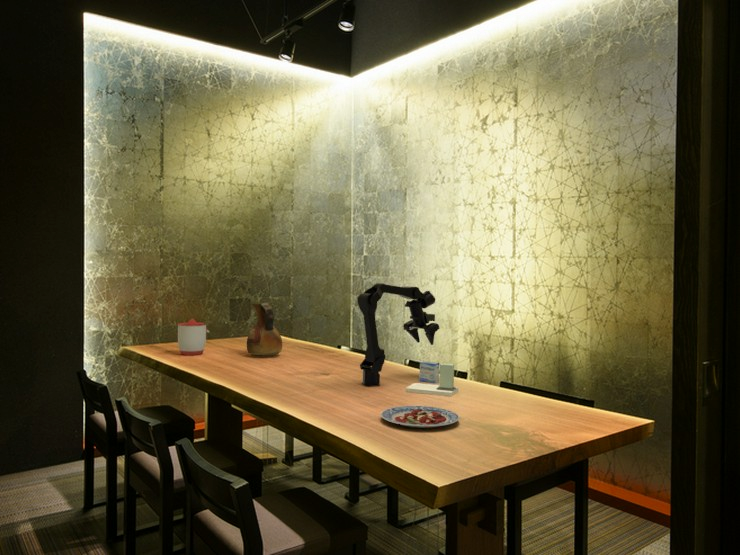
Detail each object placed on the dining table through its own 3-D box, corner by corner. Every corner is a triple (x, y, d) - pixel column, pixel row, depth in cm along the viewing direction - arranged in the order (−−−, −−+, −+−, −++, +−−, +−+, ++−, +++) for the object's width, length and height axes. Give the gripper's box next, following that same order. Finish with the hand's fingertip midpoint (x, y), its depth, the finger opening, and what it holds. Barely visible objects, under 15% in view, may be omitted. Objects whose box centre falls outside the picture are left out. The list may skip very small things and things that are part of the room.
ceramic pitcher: (270, 352, 336) (271, 300, 335) (289, 356, 320) (290, 302, 320) (240, 354, 323) (240, 301, 323) (257, 359, 308) (258, 303, 307)
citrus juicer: (212, 355, 321) (213, 319, 320) (180, 356, 312) (180, 320, 312) (205, 351, 334) (205, 316, 334) (174, 352, 326) (174, 317, 325)
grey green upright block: (439, 389, 235) (439, 364, 234) (441, 387, 238) (442, 363, 238) (451, 390, 233) (452, 365, 233) (453, 388, 236) (454, 364, 236)
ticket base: (405, 391, 236) (405, 386, 236) (414, 386, 247) (414, 381, 247) (451, 396, 228) (451, 391, 228) (458, 390, 240) (458, 385, 240)
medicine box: (418, 381, 258) (419, 362, 258) (422, 379, 262) (423, 360, 262) (435, 383, 254) (436, 363, 254) (439, 381, 258) (439, 362, 258)
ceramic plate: (410, 408, 209) (410, 400, 209) (473, 421, 193) (473, 412, 193) (364, 422, 189) (365, 413, 189) (430, 437, 173) (430, 427, 173)
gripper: (443, 307, 260) (451, 338, 264) (415, 304, 275) (423, 334, 279) (426, 316, 254) (435, 348, 258) (398, 313, 269) (407, 343, 273)
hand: (425, 343), depth 267 cm, fingers open, 9 cm apart
